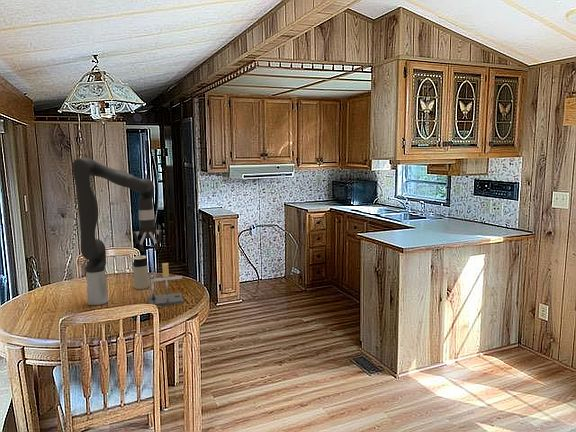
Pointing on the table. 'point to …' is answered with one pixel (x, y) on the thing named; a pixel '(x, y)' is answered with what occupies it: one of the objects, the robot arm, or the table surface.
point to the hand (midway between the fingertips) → (149, 250)
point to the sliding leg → (165, 274)
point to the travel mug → (140, 272)
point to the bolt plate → (163, 299)
